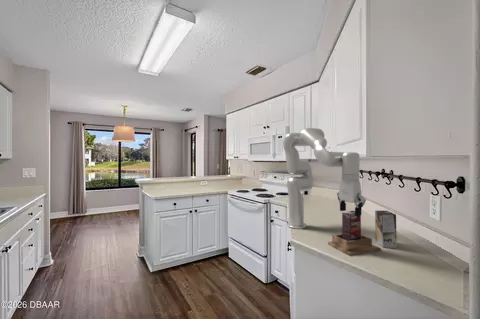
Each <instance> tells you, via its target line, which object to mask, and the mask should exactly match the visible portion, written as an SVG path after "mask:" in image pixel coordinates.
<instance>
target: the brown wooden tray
mask: <svg viewBox="0 0 480 319" xmlns="http://www.w3.org/2000/svg"><path fill="white" fill-rule="evenodd" d="M331 236H332V237H331V238H332V240H331V241H327V245H328V246H330V247H332V248H334V249H335V250H338V251H339V252H342V253H343V254H345V255H347V256H349V257H350V256H356V255H362V254H367V253H374V252H379V251H381V247H380V246H377V245H375V244H373V243H372V242H373V239H372V238H371V237H368V236H366V235H363V234H361V239H359V240H352V241H346V240H344V239H342V233H339V234H332V235H331Z"/></svg>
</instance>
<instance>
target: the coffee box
mask: <svg viewBox="0 0 480 319" xmlns="http://www.w3.org/2000/svg"><path fill="white" fill-rule="evenodd" d="M374 222H375V223H374V224H375V225H374V227H375V228H374V229H375V242H376V243H377V244H378V245H379V246H381V247H382V248H391V249H397V247H398V246H397V242H398V241H397V214H396V213H393V212H391V211H389V210H374Z"/></svg>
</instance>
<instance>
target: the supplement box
mask: <svg viewBox="0 0 480 319" xmlns="http://www.w3.org/2000/svg"><path fill="white" fill-rule="evenodd" d="M341 214H342V216H341V222H342V223H341V227H342V228H341V232H342V233H341V234H342V239H344V240H346V241H352V240H359V239H361V235H362V233H361V231H362V228H361V227H362V224H361V222H362V215H361V216H355V210H350V211H342V212H341Z"/></svg>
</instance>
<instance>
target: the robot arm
mask: <svg viewBox="0 0 480 319" xmlns="http://www.w3.org/2000/svg"><path fill="white" fill-rule="evenodd" d="M327 144H328V141H327V139H326V138H325V133H324V131H323V129H321V128H316V127H314V128H313V127H307V128H304V129H302V130H301V132H290V133H287V134H286V135H285V136H284V137H283V141H282V146H283V149H284V153H285V160H286V168H287V172H288V173H287V174H289V175H292V177H290V178H288V180H287V181H286V187H287V193H288V217H287V220H288V222H287V223H286V227H288V228H290V229H297V230H298V229H299V230H300V229H305V228H307V227H308V226H307V223H305V201H304V200H305V199H304V196H303V193H302V192H307V191H311V190H312V189H313V186H314V178H313V171H312V170H313V169H312V166H311V163H310V162H309V161H307V160H305V159H304V160H302V159H300V153H299V151H298V149H297V147H310V148H311V149H312V150H313V154H314V157H315V159H316V160H317V161H318V162H319V163H320V164H322V165H323V166H325V167H328V168H334V167H336V168H337V167H338V168H341V179H340V182H339V188H338V190H339V191H338V192H336V196H337V201H338V202H339V211H340V212H347V202H348V203H351V204H352V203H353V204H354V206H355V207H354V211H355V216H361V217H362V208H363V207H364V205H366V201H367V199H366V198H365V197H364V196H363V195H362V185H361V182H360V154H359V153H358V152H352V151H351V152H349V151H348V152H344V151H343V152H342V151H330V150H327V149H326V147H327ZM299 175H300V176H299Z"/></svg>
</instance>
